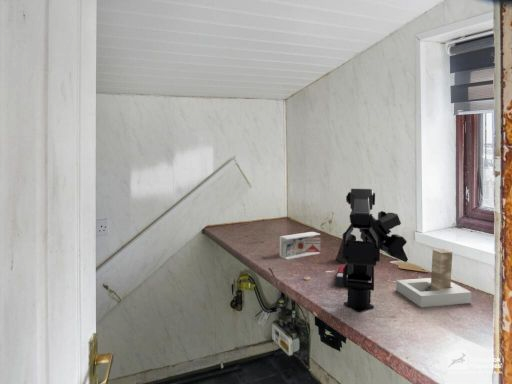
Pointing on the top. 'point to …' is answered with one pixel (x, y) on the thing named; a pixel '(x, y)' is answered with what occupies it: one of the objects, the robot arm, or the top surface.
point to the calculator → (340, 278)
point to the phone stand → (340, 252)
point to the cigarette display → (299, 245)
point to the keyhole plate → (432, 293)
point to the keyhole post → (441, 269)
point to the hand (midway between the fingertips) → (398, 256)
